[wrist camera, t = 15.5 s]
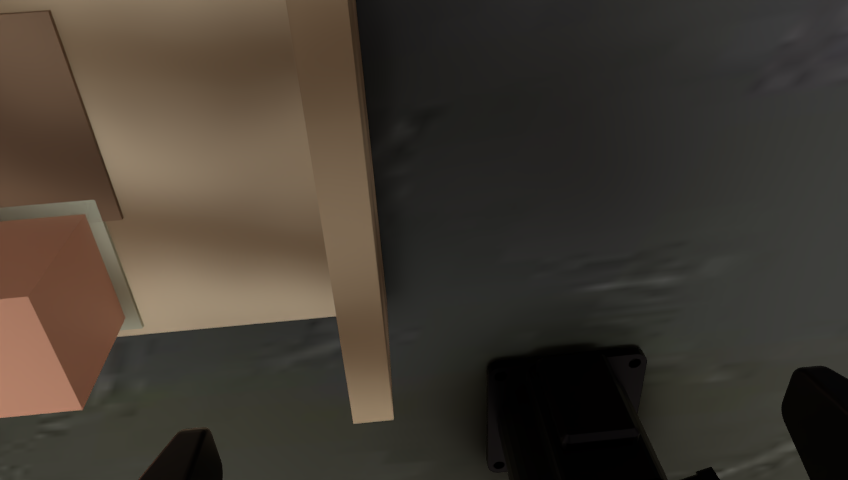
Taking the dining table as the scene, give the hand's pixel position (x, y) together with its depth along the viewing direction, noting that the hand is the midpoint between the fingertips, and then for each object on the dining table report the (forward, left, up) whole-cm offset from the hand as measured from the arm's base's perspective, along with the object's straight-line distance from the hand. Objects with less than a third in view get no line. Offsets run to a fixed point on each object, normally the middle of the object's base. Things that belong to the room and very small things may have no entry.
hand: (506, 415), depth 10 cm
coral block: (-4, +13, -12) cm, 18 cm away
